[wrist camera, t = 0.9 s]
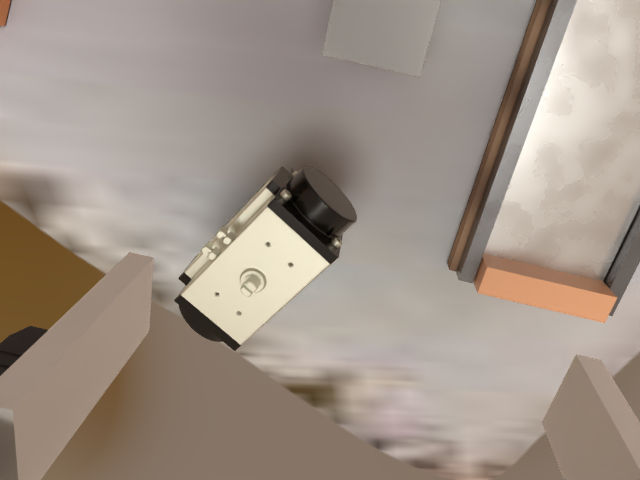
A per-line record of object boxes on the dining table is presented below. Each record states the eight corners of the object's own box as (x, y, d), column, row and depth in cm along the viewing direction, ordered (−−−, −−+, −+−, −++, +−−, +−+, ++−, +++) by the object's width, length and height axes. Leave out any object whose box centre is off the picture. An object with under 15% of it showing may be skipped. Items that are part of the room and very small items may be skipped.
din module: (356, -54, 32) (349, -83, 23) (436, -36, 32) (457, -59, 23) (335, 48, 34) (322, 55, 26) (409, 65, 34) (419, 77, 26)
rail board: (573, -108, 30) (601, -128, 26) (781, -62, 29) (839, -75, 26) (447, 262, 39) (454, 287, 35) (604, 299, 39) (628, 328, 35)
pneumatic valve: (363, 183, 37) (356, 248, 26) (258, 283, 41) (214, 376, 30) (307, 128, 36) (276, 173, 25) (205, 236, 40) (140, 316, 29)
